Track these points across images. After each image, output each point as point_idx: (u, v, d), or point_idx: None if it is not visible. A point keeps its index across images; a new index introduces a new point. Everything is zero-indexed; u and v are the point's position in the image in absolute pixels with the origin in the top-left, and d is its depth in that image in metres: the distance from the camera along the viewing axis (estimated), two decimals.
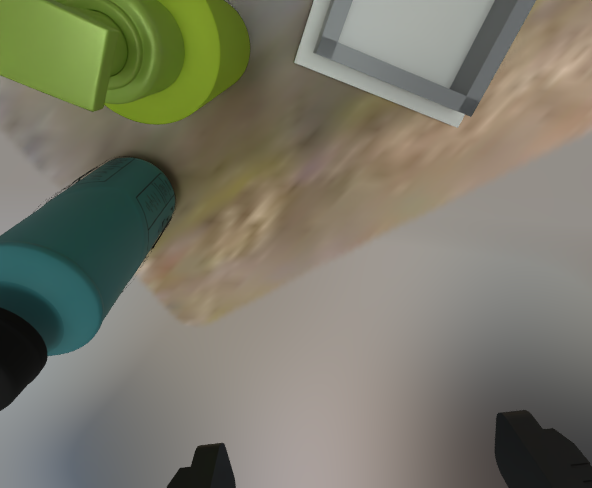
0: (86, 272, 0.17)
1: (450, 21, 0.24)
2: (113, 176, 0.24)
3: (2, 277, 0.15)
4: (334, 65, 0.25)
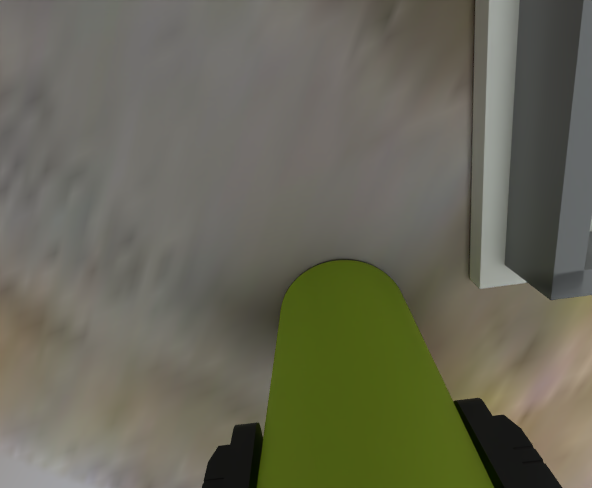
0: None
1: None
2: None
3: None
4: None
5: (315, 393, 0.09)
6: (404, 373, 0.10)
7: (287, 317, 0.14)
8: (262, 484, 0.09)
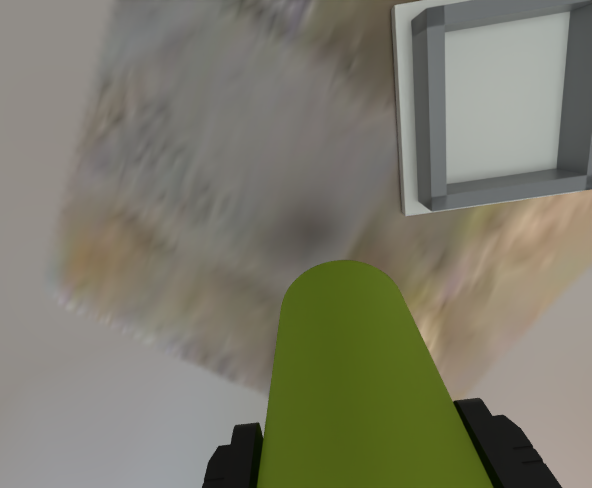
0: None
1: (530, 118, 0.26)
2: None
3: None
4: None
5: (315, 392, 0.09)
6: (404, 373, 0.10)
7: (287, 317, 0.14)
8: (262, 483, 0.09)
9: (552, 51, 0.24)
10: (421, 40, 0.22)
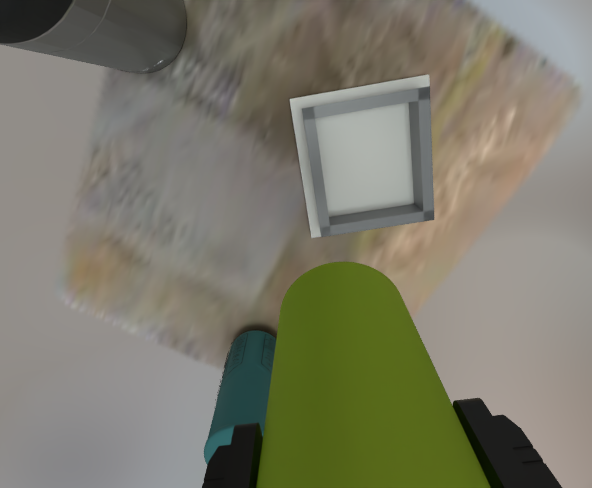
0: None
1: (390, 170, 0.37)
2: (243, 355, 0.38)
3: None
4: None
5: (315, 395, 0.09)
6: (402, 375, 0.10)
7: (286, 319, 0.14)
8: (261, 486, 0.09)
9: (400, 126, 0.35)
10: (304, 125, 0.33)
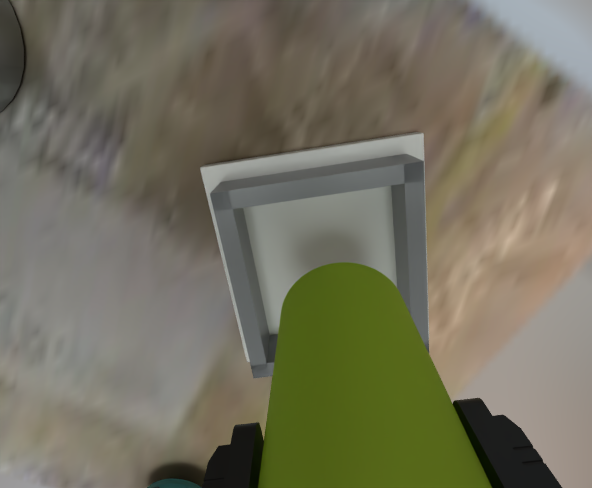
0: None
1: None
2: None
3: None
4: None
5: (316, 396, 0.09)
6: (404, 376, 0.10)
7: (287, 319, 0.14)
8: (263, 487, 0.09)
9: (377, 210, 0.23)
10: None
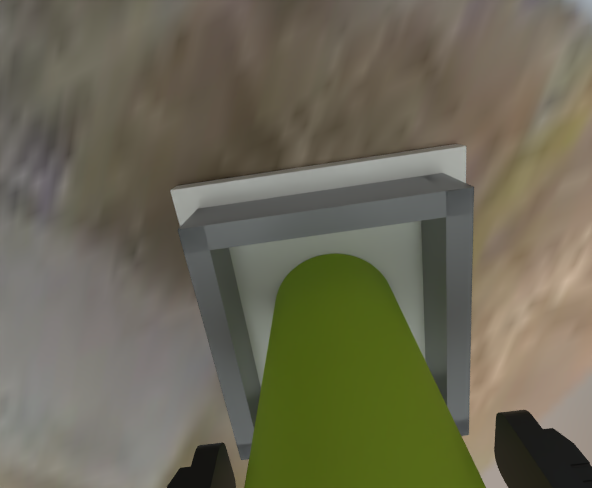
0: None
1: None
2: None
3: None
4: None
5: (305, 363, 0.10)
6: (386, 347, 0.11)
7: (281, 305, 0.15)
8: (255, 444, 0.09)
9: (402, 245, 0.17)
10: None
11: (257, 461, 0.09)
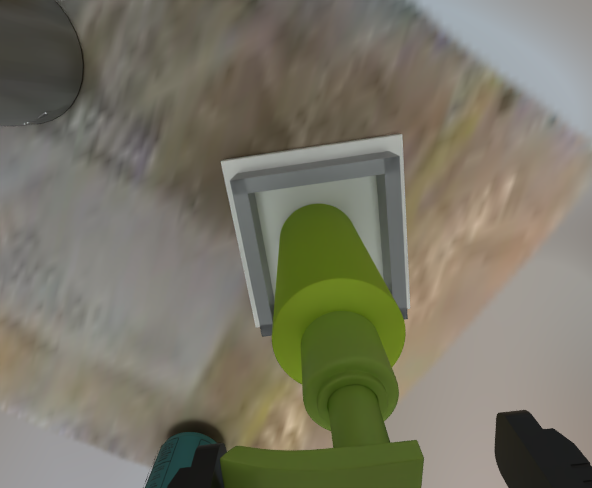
0: None
1: None
2: (165, 478, 0.30)
3: None
4: None
5: (303, 242, 0.20)
6: (344, 235, 0.21)
7: (285, 231, 0.25)
8: (279, 276, 0.19)
9: (365, 198, 0.27)
10: None
11: (282, 276, 0.19)
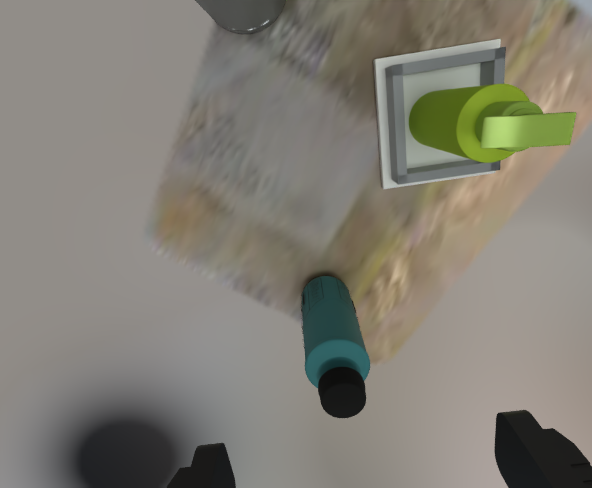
0: (356, 342, 0.35)
1: None
2: (322, 293, 0.43)
3: (330, 356, 0.33)
4: None
5: (453, 91, 0.33)
6: None
7: (422, 103, 0.38)
8: (443, 107, 0.32)
9: (471, 86, 0.40)
10: (390, 81, 0.38)
11: (449, 103, 0.31)
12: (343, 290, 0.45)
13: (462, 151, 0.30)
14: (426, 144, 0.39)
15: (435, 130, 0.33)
